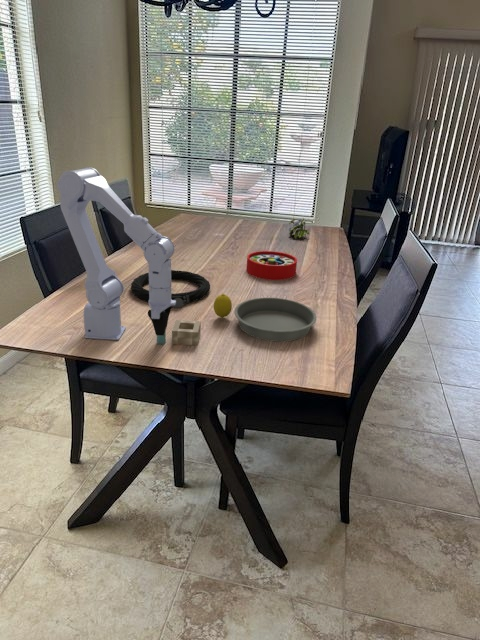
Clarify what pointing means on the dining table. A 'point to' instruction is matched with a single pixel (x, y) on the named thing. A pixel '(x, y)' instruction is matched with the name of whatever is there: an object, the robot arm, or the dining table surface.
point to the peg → (161, 338)
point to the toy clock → (271, 265)
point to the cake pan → (275, 318)
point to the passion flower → (298, 225)
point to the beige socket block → (186, 332)
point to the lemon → (222, 305)
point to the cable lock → (179, 297)
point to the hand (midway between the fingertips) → (161, 332)
